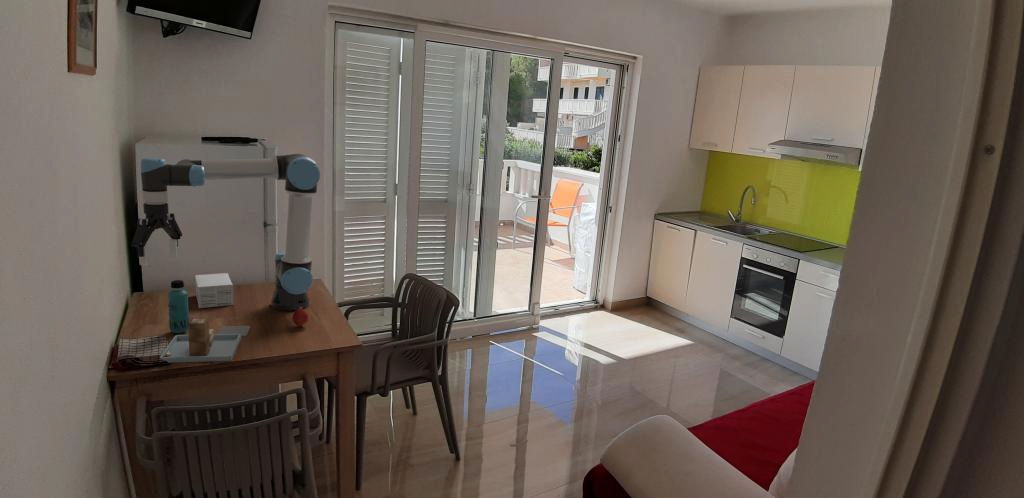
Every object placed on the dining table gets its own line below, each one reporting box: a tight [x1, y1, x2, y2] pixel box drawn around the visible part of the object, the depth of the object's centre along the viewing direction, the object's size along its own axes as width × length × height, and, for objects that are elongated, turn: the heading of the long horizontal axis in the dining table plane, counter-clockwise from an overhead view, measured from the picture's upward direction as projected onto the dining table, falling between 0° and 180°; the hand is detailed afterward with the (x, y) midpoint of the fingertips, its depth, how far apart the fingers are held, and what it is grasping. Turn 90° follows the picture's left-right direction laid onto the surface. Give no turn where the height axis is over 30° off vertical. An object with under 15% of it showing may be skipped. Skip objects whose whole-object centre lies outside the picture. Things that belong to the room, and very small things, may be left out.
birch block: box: [209, 328, 215, 347], centre depth 206 cm, size 4×4×5 cm
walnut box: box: [187, 317, 210, 356], centre depth 198 cm, size 5×5×12 cm
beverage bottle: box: [167, 279, 190, 334], centre depth 213 cm, size 6×7×20 cm
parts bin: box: [159, 333, 242, 364], centre depth 203 cm, size 21×19×2 cm
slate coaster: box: [217, 325, 251, 338], centre depth 220 cm, size 10×10×1 cm
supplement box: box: [194, 272, 234, 309], centre depth 250 cm, size 17×13×9 cm
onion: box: [292, 307, 309, 328], centre depth 230 cm, size 6×6×8 cm
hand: (159, 260), depth 213 cm, fingers open, 13 cm apart
